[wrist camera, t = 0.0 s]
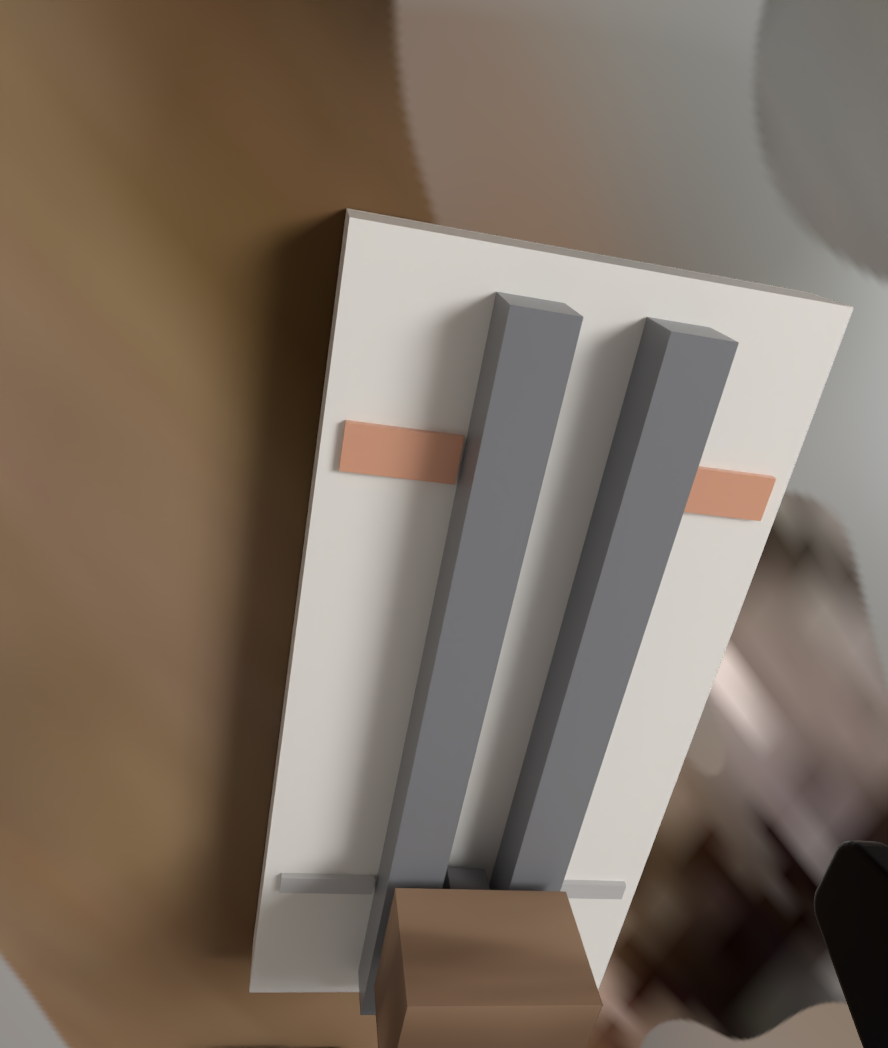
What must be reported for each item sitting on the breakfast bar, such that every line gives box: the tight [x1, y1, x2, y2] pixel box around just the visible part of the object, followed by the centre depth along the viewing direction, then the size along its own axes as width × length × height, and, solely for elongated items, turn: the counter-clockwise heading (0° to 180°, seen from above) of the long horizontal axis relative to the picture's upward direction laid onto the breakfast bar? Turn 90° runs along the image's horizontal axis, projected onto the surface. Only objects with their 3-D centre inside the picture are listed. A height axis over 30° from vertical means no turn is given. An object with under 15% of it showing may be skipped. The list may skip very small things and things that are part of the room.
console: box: [249, 208, 853, 1015], centre depth 24 cm, size 24×12×4 cm, turn 169°
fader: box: [374, 868, 603, 1048], centre depth 24 cm, size 4×5×5 cm
